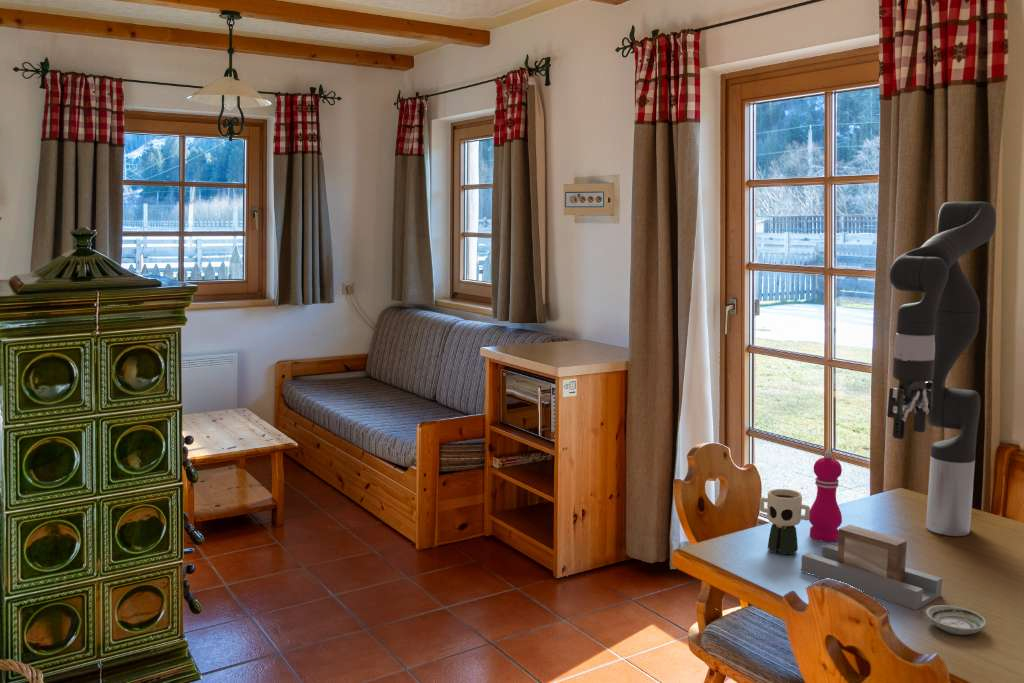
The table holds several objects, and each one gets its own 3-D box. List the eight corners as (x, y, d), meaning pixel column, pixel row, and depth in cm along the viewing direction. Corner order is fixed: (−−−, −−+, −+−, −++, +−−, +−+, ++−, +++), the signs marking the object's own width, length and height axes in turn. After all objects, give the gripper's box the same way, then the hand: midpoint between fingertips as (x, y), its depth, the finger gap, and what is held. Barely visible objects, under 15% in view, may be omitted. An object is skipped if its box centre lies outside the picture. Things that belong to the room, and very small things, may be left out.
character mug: (752, 550, 198) (754, 493, 196) (763, 541, 204) (766, 485, 202) (802, 561, 192) (805, 502, 190) (812, 551, 197) (815, 493, 196)
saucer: (957, 645, 155) (958, 632, 154) (912, 622, 163) (913, 609, 163) (998, 635, 158) (999, 622, 158) (952, 613, 167) (953, 601, 167)
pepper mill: (843, 543, 202) (848, 456, 200) (809, 541, 204) (813, 454, 201) (838, 532, 209) (842, 448, 207) (805, 530, 211) (809, 446, 208)
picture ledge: (827, 559, 193) (828, 543, 192) (941, 595, 175) (942, 578, 174) (801, 571, 186) (801, 555, 186) (916, 610, 168) (917, 592, 168)
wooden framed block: (847, 566, 186) (849, 524, 185) (904, 584, 177) (906, 540, 176) (836, 571, 184) (838, 529, 182) (893, 590, 174) (896, 545, 173)
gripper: (912, 350, 190) (908, 426, 192) (878, 357, 181) (873, 437, 183) (948, 354, 184) (943, 432, 187) (915, 362, 175) (910, 444, 178)
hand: (909, 434), depth 185 cm, fingers open, 8 cm apart
